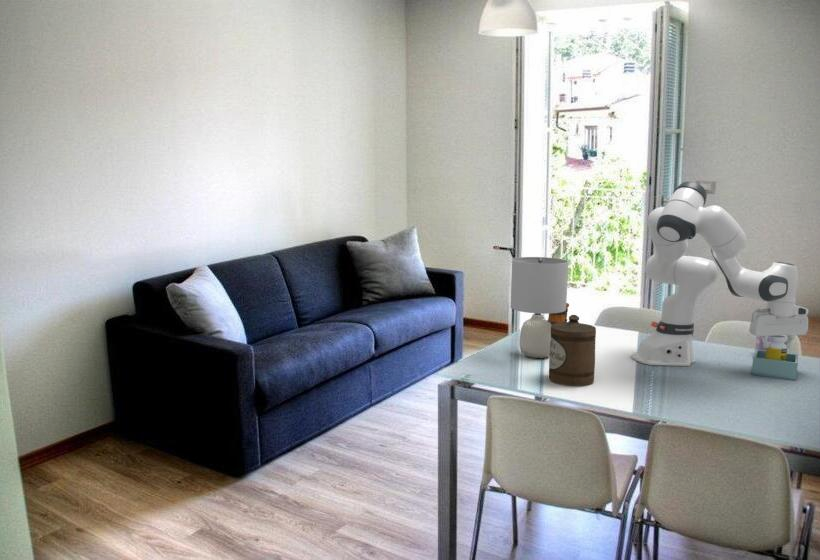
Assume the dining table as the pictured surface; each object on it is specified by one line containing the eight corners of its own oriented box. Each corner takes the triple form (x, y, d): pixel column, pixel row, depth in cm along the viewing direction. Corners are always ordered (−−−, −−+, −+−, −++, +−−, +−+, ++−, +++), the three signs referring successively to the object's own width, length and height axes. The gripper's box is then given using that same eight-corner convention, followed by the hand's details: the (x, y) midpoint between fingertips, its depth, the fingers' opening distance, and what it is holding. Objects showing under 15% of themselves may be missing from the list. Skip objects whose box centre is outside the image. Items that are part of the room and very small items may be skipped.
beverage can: (774, 358, 270) (778, 319, 268) (758, 358, 270) (762, 319, 268) (767, 354, 276) (771, 316, 274) (751, 354, 276) (755, 316, 274)
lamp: (537, 346, 282) (541, 254, 277) (575, 358, 266) (580, 260, 260) (497, 353, 271) (501, 257, 266) (534, 366, 255) (539, 263, 249)
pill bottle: (777, 372, 246) (780, 338, 244) (760, 367, 251) (763, 335, 250) (789, 370, 249) (792, 337, 247) (772, 365, 254) (775, 333, 253)
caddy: (795, 380, 241) (797, 363, 241) (751, 374, 248) (753, 357, 247) (796, 371, 253) (798, 354, 252) (754, 365, 260) (755, 349, 259)
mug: (558, 334, 305) (559, 307, 303) (539, 330, 312) (540, 304, 311) (576, 330, 313) (578, 304, 311) (557, 326, 321) (559, 300, 319)
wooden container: (545, 373, 246) (548, 310, 243) (588, 374, 246) (592, 311, 242) (552, 386, 231) (555, 319, 228) (598, 387, 231) (602, 320, 228)
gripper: (759, 310, 242) (755, 350, 244) (813, 309, 245) (808, 349, 248) (747, 307, 248) (743, 346, 250) (800, 306, 252) (796, 344, 254)
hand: (776, 347), depth 249 cm, fingers closed on pill bottle, 6 cm apart
